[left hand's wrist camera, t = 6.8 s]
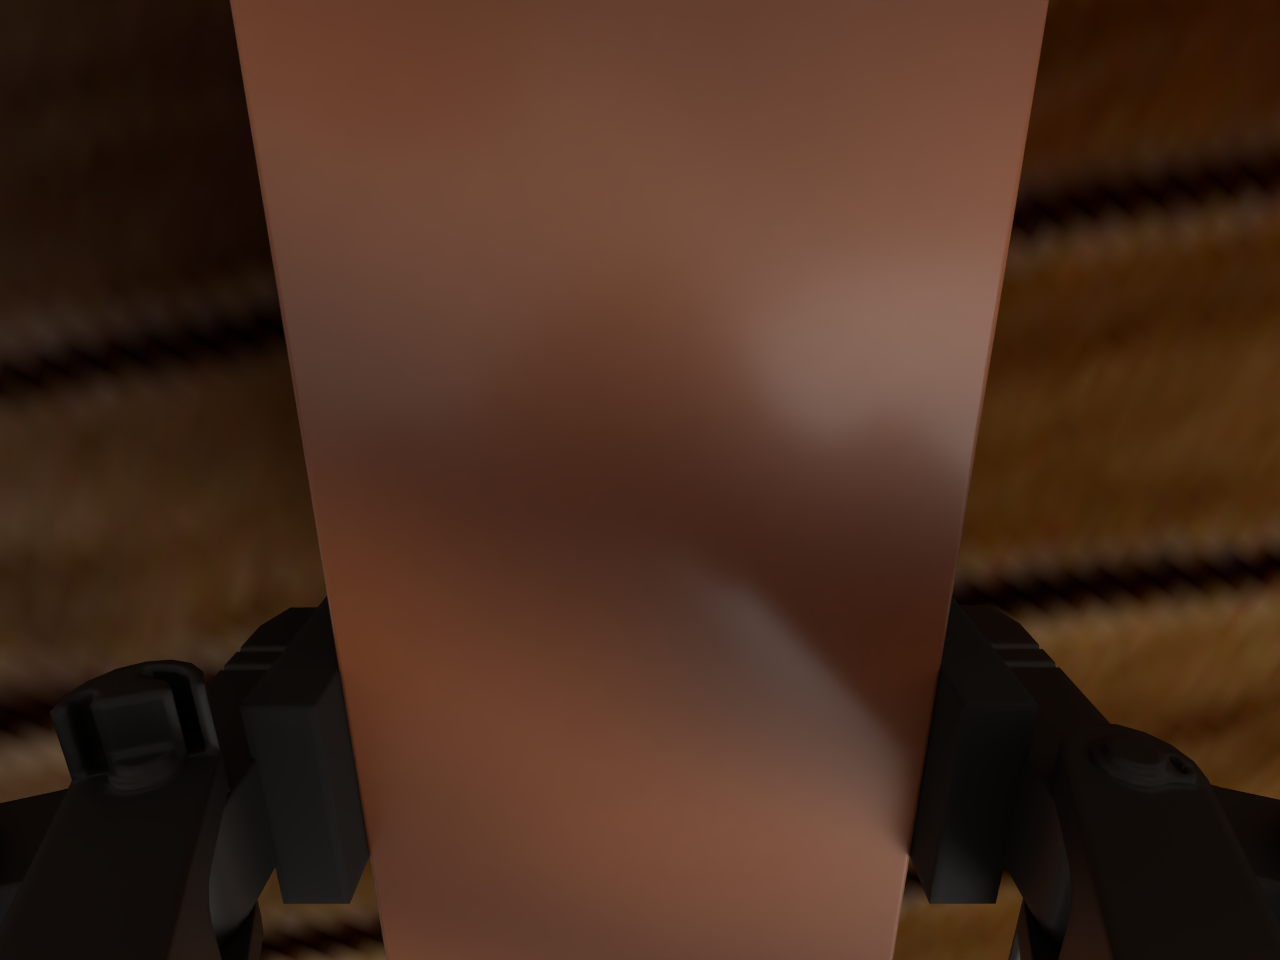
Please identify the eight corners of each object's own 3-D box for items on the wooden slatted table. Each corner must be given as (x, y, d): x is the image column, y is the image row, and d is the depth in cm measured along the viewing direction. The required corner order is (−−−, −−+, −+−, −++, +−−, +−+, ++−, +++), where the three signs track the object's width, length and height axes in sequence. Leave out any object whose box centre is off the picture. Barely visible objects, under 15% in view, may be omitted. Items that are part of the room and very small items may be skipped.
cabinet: (442, -180, 13) (80, -878, 4) (837, -180, 13) (1198, -879, 4) (505, 677, 18) (399, 1048, 10) (774, 677, 18) (880, 1049, 10)
